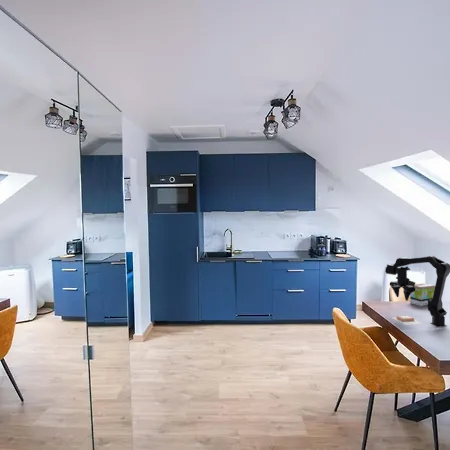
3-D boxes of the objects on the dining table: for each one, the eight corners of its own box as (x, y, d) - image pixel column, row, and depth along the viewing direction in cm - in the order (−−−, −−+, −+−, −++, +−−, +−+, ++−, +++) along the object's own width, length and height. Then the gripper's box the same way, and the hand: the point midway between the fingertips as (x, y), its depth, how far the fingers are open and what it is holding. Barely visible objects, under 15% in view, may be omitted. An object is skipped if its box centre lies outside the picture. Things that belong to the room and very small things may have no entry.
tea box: (421, 306, 237) (421, 287, 237) (409, 303, 247) (409, 284, 246) (435, 304, 243) (435, 285, 242) (423, 300, 252) (423, 282, 252)
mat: (423, 324, 199) (423, 323, 199) (405, 325, 198) (405, 324, 198) (407, 317, 213) (407, 316, 213) (391, 318, 212) (391, 317, 212)
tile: (414, 318, 205) (407, 315, 211) (402, 318, 204) (396, 316, 210) (414, 320, 205) (407, 317, 211) (402, 321, 204) (396, 318, 210)
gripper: (423, 278, 207) (423, 301, 207) (403, 273, 225) (403, 294, 226) (407, 278, 205) (407, 302, 206) (389, 273, 224) (389, 295, 224)
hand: (402, 298), depth 216 cm, fingers open, 9 cm apart
